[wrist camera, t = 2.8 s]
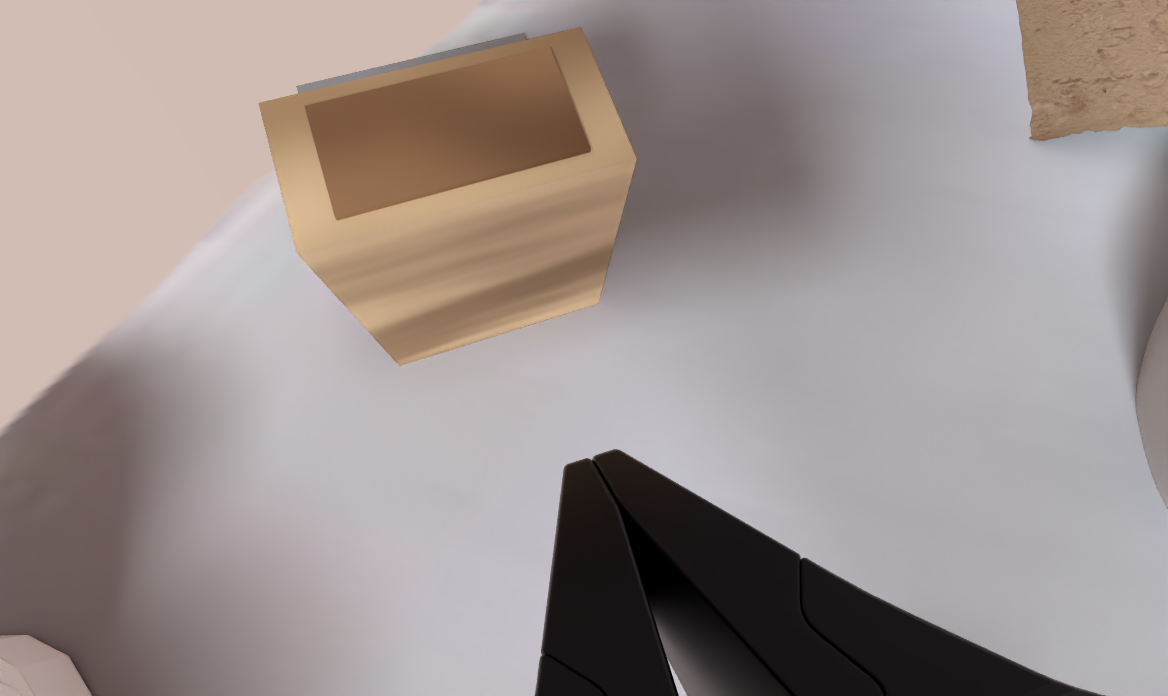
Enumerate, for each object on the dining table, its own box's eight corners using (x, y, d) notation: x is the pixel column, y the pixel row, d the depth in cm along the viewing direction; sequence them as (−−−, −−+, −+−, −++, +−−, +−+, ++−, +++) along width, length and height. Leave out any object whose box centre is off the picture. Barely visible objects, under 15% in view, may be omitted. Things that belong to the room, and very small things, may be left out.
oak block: (598, 303, 24) (637, 155, 14) (400, 366, 23) (293, 249, 13) (565, 217, 25) (581, 22, 15) (372, 272, 24) (255, 99, 14)
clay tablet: (1012, 153, 28) (1061, 115, 25) (986, -19, 31) (1027, -68, 28) (1302, 183, 29) (1377, 150, 26) (1250, 13, 32) (1314, -32, 29)
